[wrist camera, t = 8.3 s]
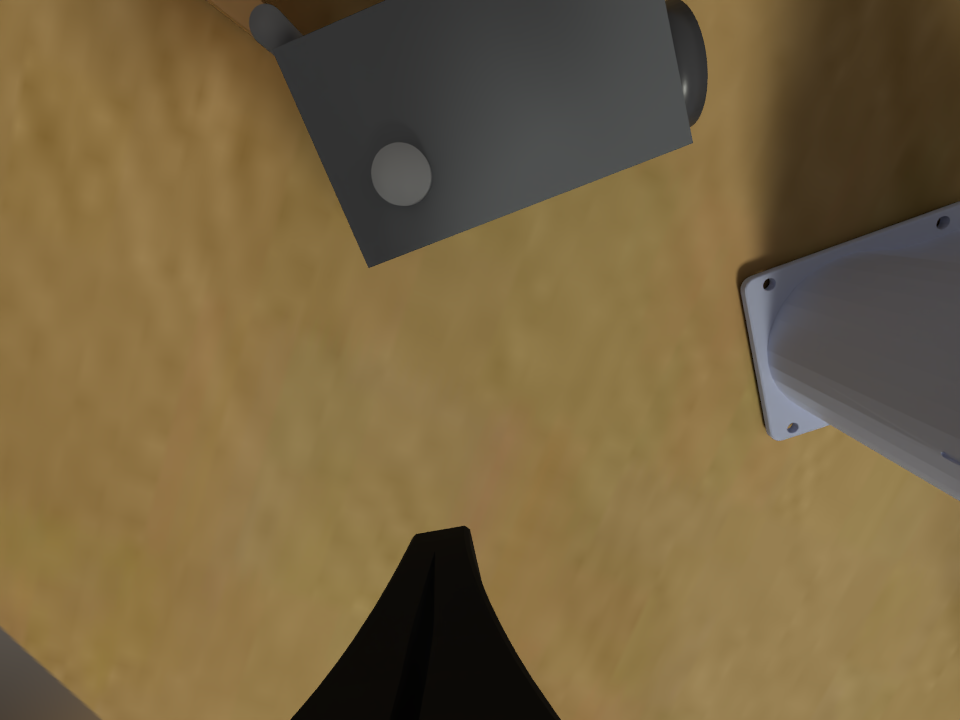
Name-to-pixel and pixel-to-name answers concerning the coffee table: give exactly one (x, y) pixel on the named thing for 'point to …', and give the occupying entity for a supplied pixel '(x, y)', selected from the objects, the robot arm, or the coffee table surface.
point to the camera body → (488, 105)
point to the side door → (259, 21)
